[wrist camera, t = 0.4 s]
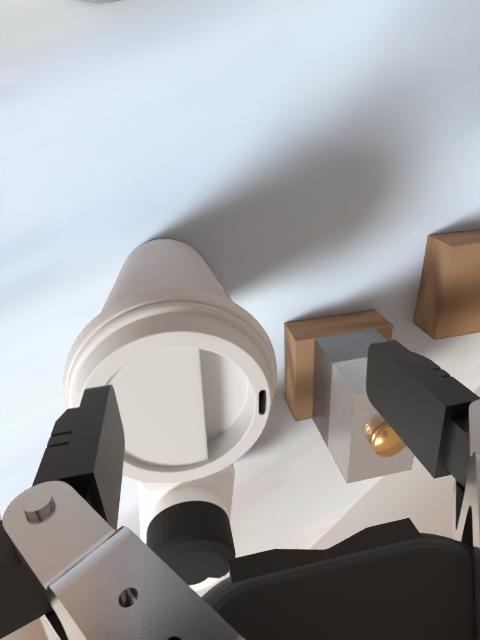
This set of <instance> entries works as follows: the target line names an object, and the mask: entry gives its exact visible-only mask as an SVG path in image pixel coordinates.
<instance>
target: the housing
mask: <svg viewBox="0 0 480 640" xmlns="http://www.w3.org/2000/svg"><path fill="white" fill-rule="evenodd" d="M384 341H387V340H386V339H385V338H384V337H383V336H382V335H381V334H380V333H379V332H378V331H377V330H376V329H370V330H364V331H357V332H351V333H345V334H338V335H332V336H326V337H319V338H315V339H314V373H313V407H312V419H313V421H314V422H315V424H316V426H317V428H318V430H319V432H320V434H321V436H322V438H323V440H324V441H325V443H326V445H327V447H328V449H329V451H330V453H331V455H332V457H333V458H334V460H335V462H336V464H337V466H338V468H339V470H340V472H341V474H342V475H343V477H344V479H345V481H346V483H351V482H356V481H360V480H365V479H370V478H374V477H379V476H384V475H388V474H393V473H398V472H402V471H407V470H411V469H412V464H413V458H414V454H413V453H412V452H411V450H410V449H409V448H408V447H407V446H406V445H405V443H404V442H403V441H402V440H401V439H400V437H399V436H398V435H397V434H396V433H395V432H394V430H393V429H392V428H391V427H390V426H389V424H388V423H387V422H386V421H385V420H384V419H383V417H382V416H381V415H380V414H379V413H378V411H377V410H376V409H375V408H374V407H373V406H372V404H371V403H370V401H369V399H368V396H367V392H366V373H367V357H368V348H369V346H370V344H372V343H377V342H384Z"/></svg>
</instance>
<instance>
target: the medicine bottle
mask: <svg viewBox="0 0 480 640" xmlns="http://www.w3.org/2000/svg"><path fill="white" fill-rule="evenodd" d="M234 475H235V471H234V466H233V463H232V464H231V465H229V466H227V467H226V468H224V469H222V470H220V471H218V472H216V473H213V474H211V475H208V476H205V477H202V478H199V479H195V480H191V481H185V482H178V483H152V482H145V481H140V480H138V497H139V517H140V537H141V540H142V541H143V542H144V543H145V544H146V545H147V546H148V547H149V548H150V549H151V550H152V551H153V552H154V553H155V554H156V555H157V556H158V557H159V558H160V559H161V560H163V561H164V562H165V563H166V564H167V565H168V566H169V567H170V568H171V569H172V570H173V571H174V572H175V573H176V574H177V575H178V576H179V577H180V578H181V579H182V580H183V581H184V582H185V583H186V584H187V585H189V586H190V587H191V588H192V589H193V590H194V591H197V590H201V589H204V588H206V587H209V586H211V585H213V584H215V583H216V582H218V581H219V580H221V579H222V578H223V577H224V576H225V575H226V574H227V573H228V572H229V566H228V560H230V559H234V558H235V548H234V543H233V538H232V533H231V527H230V515H231V505H232V495H233V485H234Z"/></svg>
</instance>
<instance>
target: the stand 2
mask: <svg viewBox="0 0 480 640" xmlns="http://www.w3.org/2000/svg"><path fill="white" fill-rule="evenodd" d="M414 324H415V325H417V326H418V327H419V328H420V329H422V330H423V331H424V332H425V333H427V334H428V335H429V336H430V337H432V338H433V339H434V340H437V339H443V338H449V337H455V336H461V335H467V334H473V333H479V332H480V229H477V230H469V231H461V232H453V233H445V234H437V235H429V236H428V239H427V245H426V251H425V258H424V264H423V270H422V276H421V282H420V289H419V295H418V301H417V307H416V313H415V320H414Z"/></svg>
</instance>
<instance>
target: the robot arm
mask: <svg viewBox="0 0 480 640" xmlns="http://www.w3.org/2000/svg"><path fill="white" fill-rule="evenodd" d="M80 1H83V2H93V3H108V2H114V1H120V0H80ZM366 392H367V396H368V399H369V401H370V403H371V404H372V406H373V407H374V408H375V409H376V410H377V411H378V413H379V414H380V415H381V416H382V417H383V419H384V420H385V421H386V422H387V423H388V424H389V426H390V427H391V428H392V429H393V430H394V432H395V433H396V434H397V435H398V436H399V437H400V439H401V440H402V441H403V442H404V443H405V445H406V446H407V447H408V448H409V449H410V450H411V452H412V453H413V454H414V455H415V456H416V457H417V459H418V460H419V461H420V462H421V463H422V464H423V466H424V467H425V468H426V469H427V470H428V472H429V473H430V474H431V475H432V476H433V478H438V477H443V476H448V475H453V477H454V478H455V483H454V489H453V539H451V538H448V537H444V536H439V535H434V534H427V533H419V532H418V530H417V529H416V527H415V526H414V524H413V523H412V521H411V520H410V518H406V519H402V520H398V521H394V522H389V523H385V524H380V525H376V526H372V527H368V528H365V529H364V530H362V531H360V532H358V533H356V534H355V535H353V536H351V537H349V538H347V539H345V540H344V541H342V542H340V543H338V544H336V545H335V546H333V547H331V548H329V549H325V550H304V549H273V550H268V551H264V552H260V553H255V554H251V555H247V556H242V557H238V558H234V559H230V560H228V566H229V574H230V577H228V578H226V579H225V580H223V581H221V582H220V583H218V584H217V585H215V586H214V587H212V588H211V589H210V590H209V591H208V592H207V593H206V594H204V595H203V596H202V597H200V596H199V595H198V594H197V593H196V592H195V591H194V590H193V589H192V588H191V587H190V586H189V585H187V584H186V583H185V582H184V581H183V580H182V579H181V578H180V577H179V576H178V575H177V574H176V573H175V572H174V571H173V570H172V569H171V568H170V567H169V566H168V565H167V564H166V563H165V562H164V561H163V560H161V559H160V558H159V557H158V556H157V555H156V554H155V553H154V552H153V551H152V550H151V549H150V548H149V547H148V546H147V545H146V544H145V543H144V542H143V541H142V540H141V539H140V538H139V537H138V536H137V535H135V534H134V533H133V532H132V531H131V530H130V529H129V528H127V527H125V526H122V527H120V528H119V529H118V530H117V521H118V511H119V501H120V491H121V482H122V472H123V462H124V452H125V437H124V430H123V425H122V421H121V416H120V412H119V408H118V403H117V399H116V395H115V391H114V388H113V386H112V385H105V386H99V387H93V388H87V389H85V390H84V393H83V397H82V400H81V403H80V407H76V408H70V409H67V410H66V411H65V412H64V413H63V414H62V416H61V417H60V418H59V419H58V420H57V421H56V422H55V425H54V428H53V431H52V433H51V437H50V439H49V442H48V444H47V448H46V450H45V452H44V455H43V458H42V461H41V463H40V466H39V469H38V472H37V474H36V477H35V480H34V482H33V485H32V487H31V488H29V489H27V490H25V491H24V492H23V493H21V494H20V495H19V496H17V497H16V498H15V499H14V500H13V501H12V502H11V503H10V505H9V506H8V507H7V509H6V511H5V513H4V515H3V520H1V521H0V639H1V638H3V637H5V636H7V635H8V634H10V633H12V632H14V631H16V630H17V629H19V628H21V627H23V626H25V625H27V624H28V623H30V622H32V621H34V620H36V619H38V618H39V617H41V616H43V617H44V619H45V621H46V622H47V624H48V625H49V627H50V628H51V630H52V632H53V633H54V635H55V636H56V638H57V640H480V397H478V396H477V395H476V394H474V393H473V392H472V391H470V390H469V389H468V388H467V387H465V386H464V385H463V384H461V383H460V382H459V381H457V380H456V379H455V378H454V377H450V374H448V373H447V372H446V371H444V370H443V369H442V370H441V368H440V367H439V366H438V365H437V364H435V363H434V362H433V361H431V360H430V359H428V358H426V357H424V356H421V355H419V354H416V353H414V352H410V351H409V350H408V349H406V348H405V347H404V346H402V345H401V344H400V343H399V342H397V341H396V340H390V341H384V342H377V343H372V344H370V346H369V348H368V357H367V373H366ZM116 530H117V531H116Z"/></svg>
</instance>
